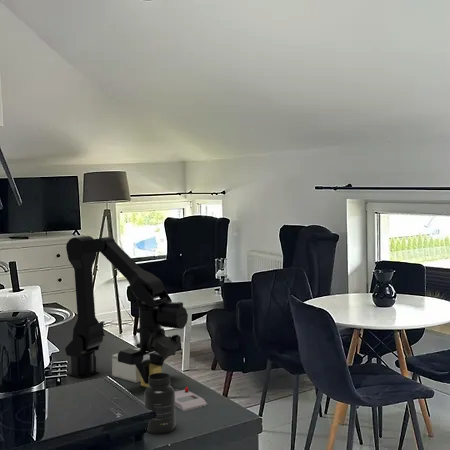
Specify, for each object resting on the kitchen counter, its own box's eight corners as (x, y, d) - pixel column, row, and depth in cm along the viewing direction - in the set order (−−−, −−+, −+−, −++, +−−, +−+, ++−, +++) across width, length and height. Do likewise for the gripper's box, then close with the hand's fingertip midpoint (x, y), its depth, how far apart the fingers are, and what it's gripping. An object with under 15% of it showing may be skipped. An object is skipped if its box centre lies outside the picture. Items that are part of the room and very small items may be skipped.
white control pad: (187, 415, 147) (187, 403, 147) (157, 396, 160) (156, 385, 160) (211, 409, 151) (211, 397, 150) (179, 391, 164) (179, 380, 164)
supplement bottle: (141, 425, 140) (140, 373, 140) (170, 420, 143) (169, 369, 142) (149, 436, 134) (147, 382, 133) (179, 431, 136) (178, 378, 136)
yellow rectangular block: (153, 389, 165) (153, 368, 164) (140, 385, 168) (140, 365, 168) (161, 386, 167) (161, 366, 167) (149, 382, 170) (148, 362, 170)
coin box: (136, 382, 170) (135, 361, 170) (112, 375, 176) (111, 355, 176) (159, 374, 177) (159, 354, 176) (136, 368, 183) (135, 348, 183)
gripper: (144, 336, 154) (146, 397, 155) (195, 322, 168) (196, 379, 170) (115, 330, 161) (117, 388, 162) (166, 317, 176) (167, 371, 177)
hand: (151, 381), depth 168 cm, fingers closed on yellow rectangular block, 3 cm apart
